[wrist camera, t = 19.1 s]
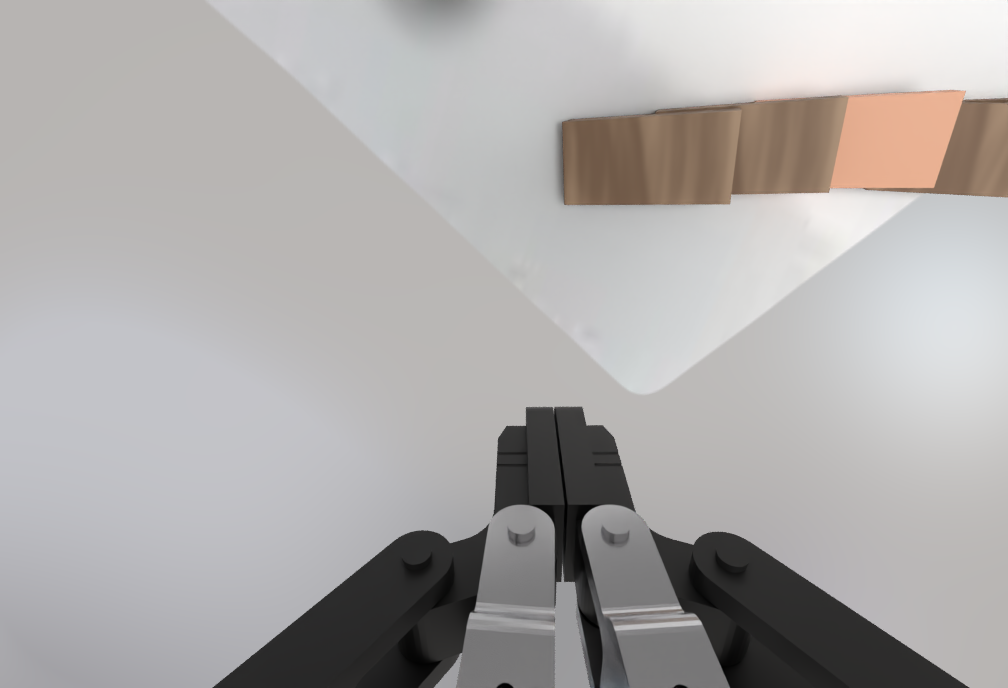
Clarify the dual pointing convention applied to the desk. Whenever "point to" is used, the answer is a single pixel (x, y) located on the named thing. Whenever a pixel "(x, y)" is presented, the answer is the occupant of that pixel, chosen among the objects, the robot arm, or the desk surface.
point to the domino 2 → (785, 144)
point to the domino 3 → (895, 139)
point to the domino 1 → (651, 158)
